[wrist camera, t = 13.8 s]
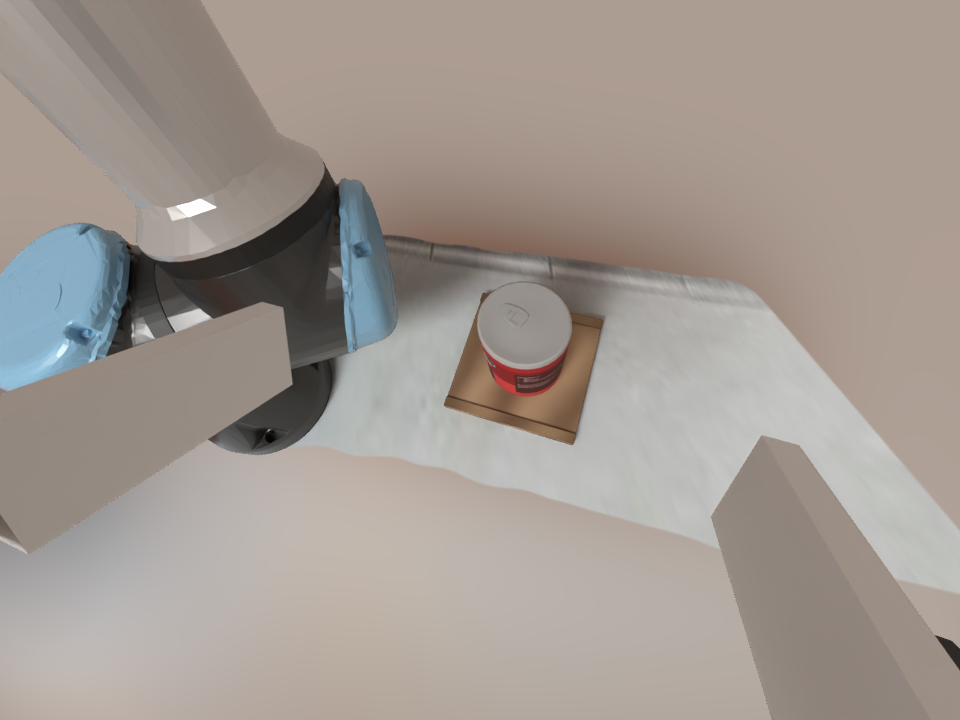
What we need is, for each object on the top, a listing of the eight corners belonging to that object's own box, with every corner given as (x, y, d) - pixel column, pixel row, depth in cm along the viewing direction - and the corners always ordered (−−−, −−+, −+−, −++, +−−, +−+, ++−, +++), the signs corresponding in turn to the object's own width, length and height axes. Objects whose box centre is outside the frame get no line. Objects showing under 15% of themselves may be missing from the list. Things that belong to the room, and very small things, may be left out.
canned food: (506, 321, 43) (499, 268, 32) (572, 347, 41) (588, 299, 30) (476, 380, 41) (459, 343, 30) (544, 410, 39) (550, 382, 29)
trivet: (445, 407, 41) (443, 405, 40) (483, 297, 45) (482, 292, 44) (572, 445, 38) (573, 443, 37) (601, 324, 42) (603, 320, 41)
